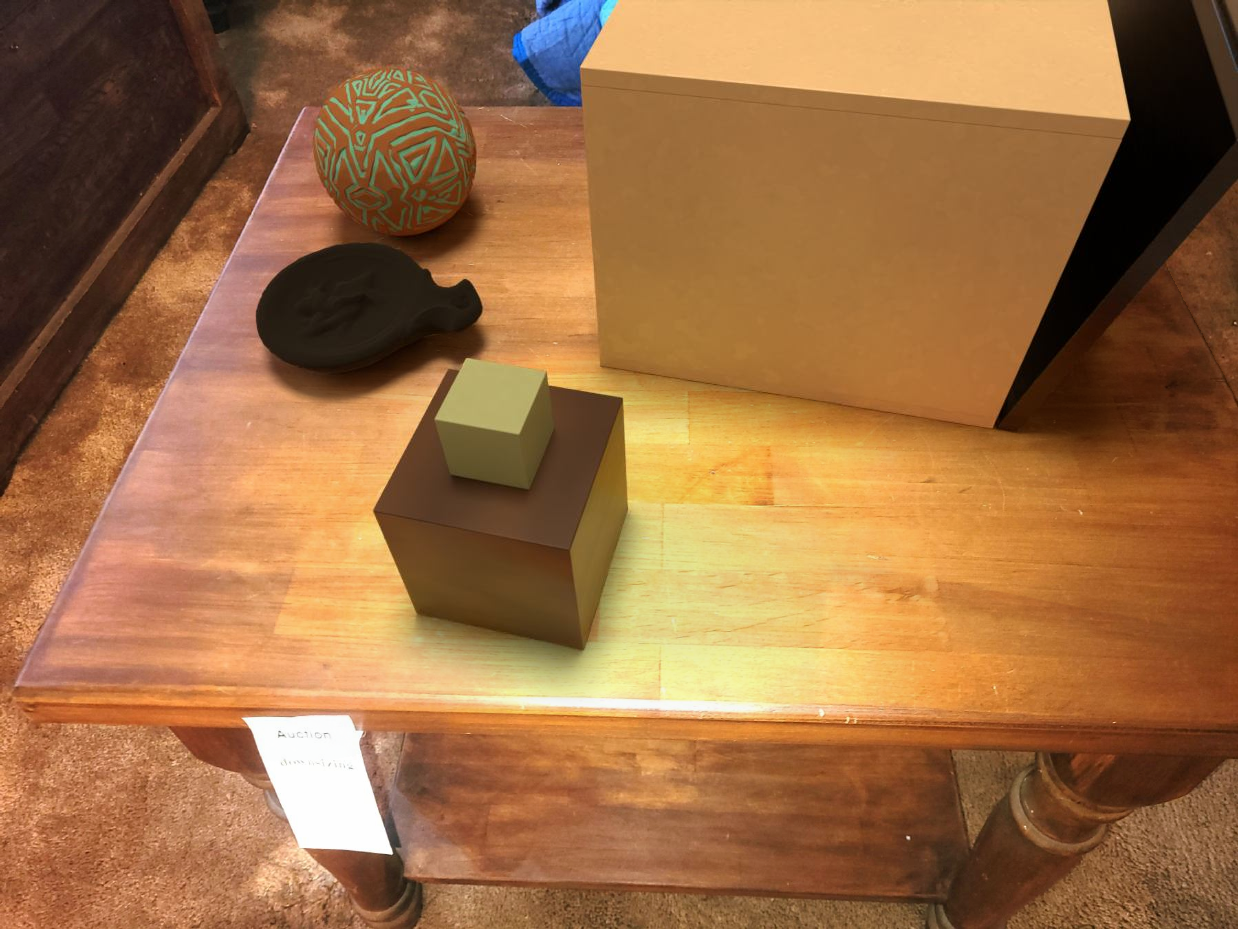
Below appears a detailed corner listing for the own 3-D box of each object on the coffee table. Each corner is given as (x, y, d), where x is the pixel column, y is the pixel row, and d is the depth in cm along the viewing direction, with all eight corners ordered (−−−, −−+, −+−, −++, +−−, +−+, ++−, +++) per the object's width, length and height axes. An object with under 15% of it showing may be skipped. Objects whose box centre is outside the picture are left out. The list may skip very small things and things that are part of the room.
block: (554, 427, 54) (547, 370, 51) (529, 490, 51) (519, 434, 48) (479, 414, 55) (465, 357, 51) (450, 475, 52) (433, 419, 48)
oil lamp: (467, 408, 72) (456, 364, 68) (243, 391, 74) (220, 348, 70) (505, 290, 81) (497, 246, 78) (304, 279, 83) (287, 235, 80)
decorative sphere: (460, 275, 83) (428, 128, 71) (314, 259, 85) (260, 114, 74) (505, 185, 92) (483, 42, 81) (372, 172, 95) (332, 31, 83)
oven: (990, 152, 93) (1082, -131, 73) (992, 428, 69) (1131, 119, 49) (693, 121, 99) (703, -149, 79) (600, 366, 75) (579, 66, 55)
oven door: (1062, 171, 93) (1241, -93, 72) (1090, 456, 68) (1371, 180, 48) (993, 150, 93) (1152, -120, 72) (997, 426, 69) (1237, 139, 48)
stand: (628, 508, 65) (623, 397, 56) (583, 650, 58) (569, 550, 49) (476, 479, 67) (448, 367, 58) (416, 613, 60) (371, 510, 51)
